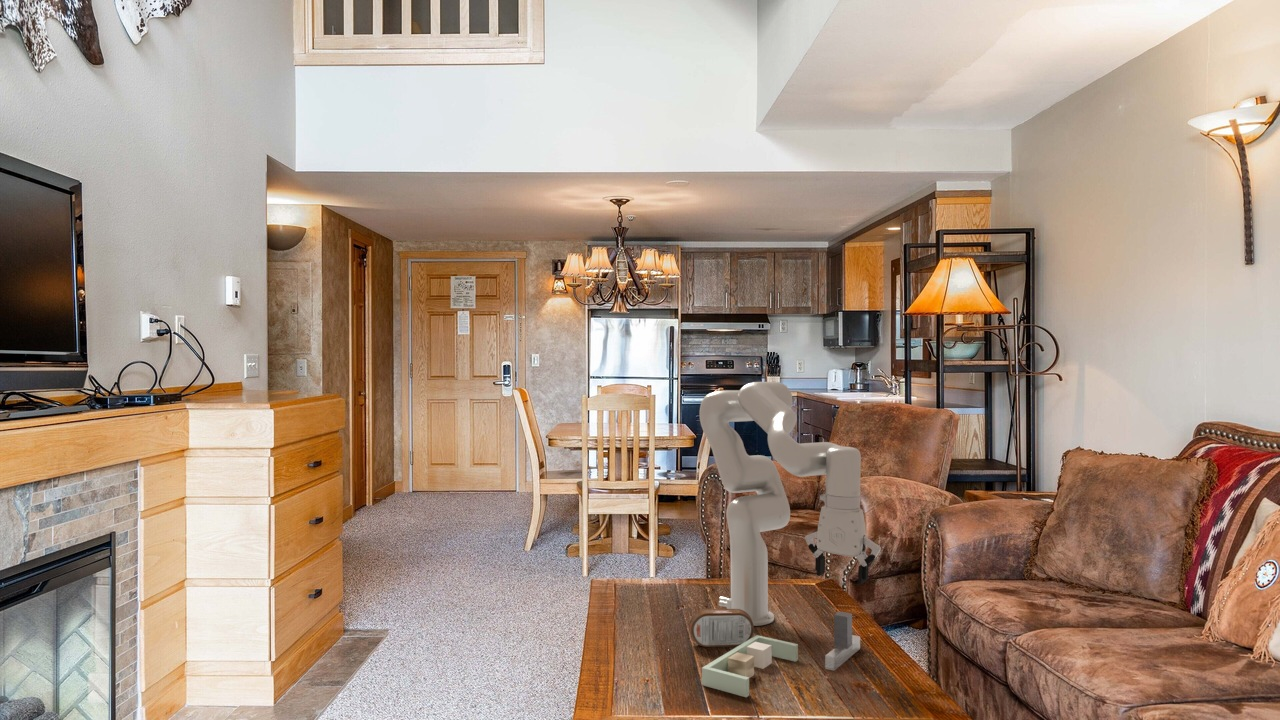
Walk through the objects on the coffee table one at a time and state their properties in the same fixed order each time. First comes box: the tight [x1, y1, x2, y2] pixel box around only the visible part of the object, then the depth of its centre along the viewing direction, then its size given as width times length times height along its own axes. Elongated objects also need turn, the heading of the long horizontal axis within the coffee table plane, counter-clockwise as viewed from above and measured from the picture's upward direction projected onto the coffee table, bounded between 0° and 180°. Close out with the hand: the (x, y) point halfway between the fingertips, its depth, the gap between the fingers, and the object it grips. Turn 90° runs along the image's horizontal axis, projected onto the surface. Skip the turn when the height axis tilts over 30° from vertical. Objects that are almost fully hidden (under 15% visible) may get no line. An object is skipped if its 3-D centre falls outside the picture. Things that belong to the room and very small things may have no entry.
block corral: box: [701, 634, 799, 698], centre depth 164 cm, size 10×24×4 cm, turn 144°
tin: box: [688, 608, 755, 648], centre depth 180 cm, size 15×3×8 cm, turn 94°
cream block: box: [747, 642, 773, 670], centre depth 169 cm, size 4×4×4 cm
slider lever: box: [824, 610, 861, 672], centre depth 172 cm, size 3×16×10 cm, turn 145°
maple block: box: [728, 652, 755, 679], centre depth 162 cm, size 4×4×4 cm
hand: (841, 578), depth 173 cm, fingers open, 9 cm apart
